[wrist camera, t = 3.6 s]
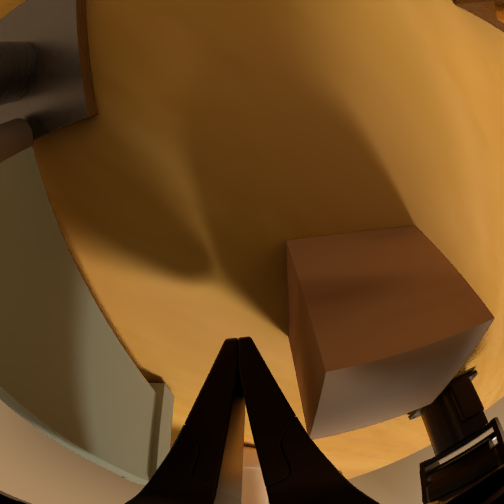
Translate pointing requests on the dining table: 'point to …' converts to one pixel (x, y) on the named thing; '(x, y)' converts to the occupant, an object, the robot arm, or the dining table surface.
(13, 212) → the grey slab
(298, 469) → the robot arm
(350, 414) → the reddish brown cube
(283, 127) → the dining table surface
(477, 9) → the latch stile
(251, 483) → the vodka
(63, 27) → the hinge post
